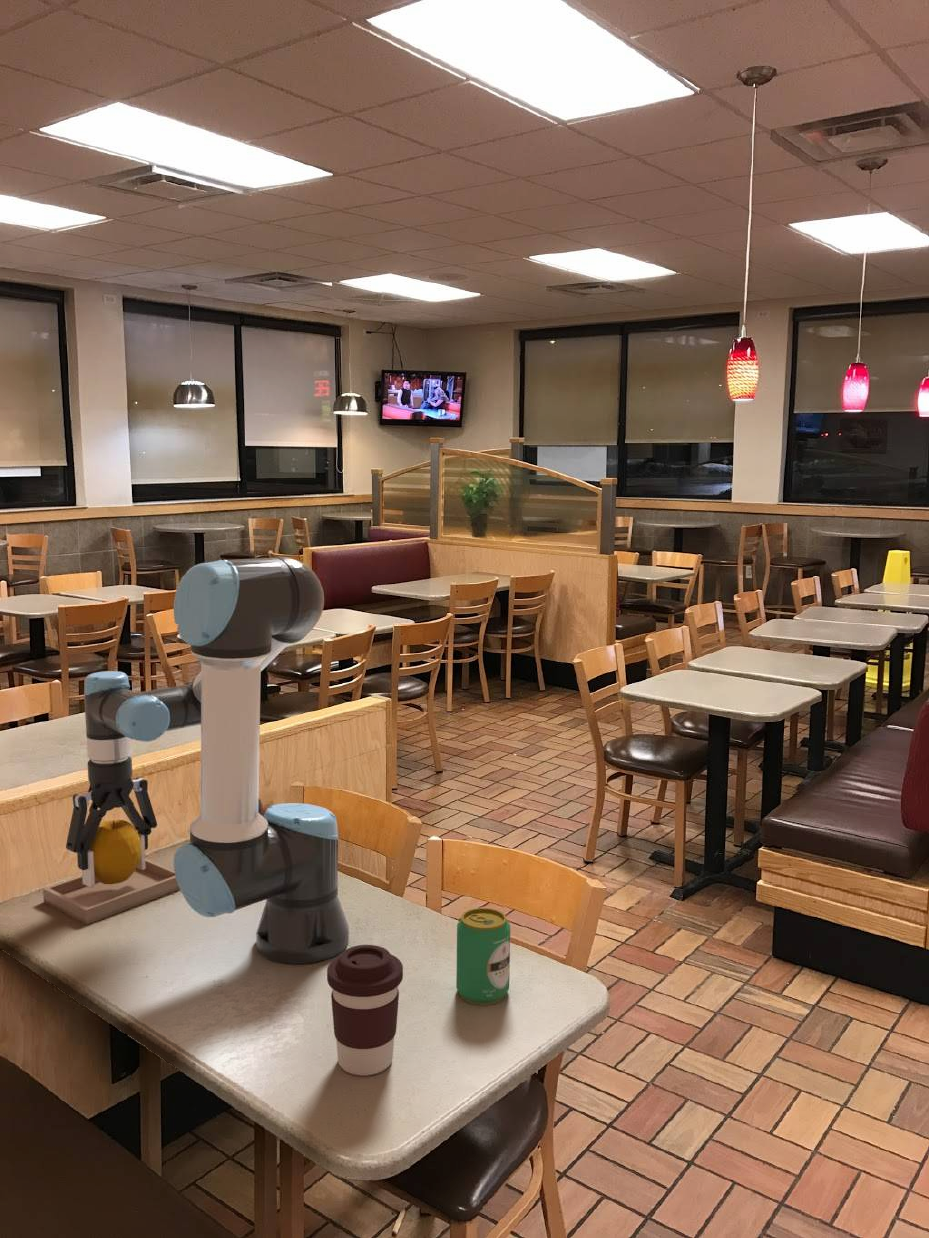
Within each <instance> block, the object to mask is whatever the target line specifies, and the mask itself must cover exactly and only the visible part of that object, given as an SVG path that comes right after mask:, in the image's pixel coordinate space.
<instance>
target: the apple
mask: <svg viewBox="0 0 929 1238" xmlns="http://www.w3.org/2000/svg"><path fill="white" fill-rule="evenodd" d="M89 850H91V851H93V856H94V875H95V876H96V878H97V879H98V880H99V881H100V882H101V883H103V884H116V883H121V882H124V881H126V880H128V879H129V877H130V876H131V875H132V874H133V873H134V871H135V870H136V868H137V866H138V864H139V862H140V858H141V853H142V847H141V840H140V837H139V835H138V831H137V830H136V829H135V827H134V826H133V824H132V823H131V822H129V821H127V820H124V819H115V820H114V819H113V820H107V821H103V822H100V825H99V827H98V830H97V832H96V834H95V837H94V839H93V842H92V844H91V846H90V849H89Z"/></svg>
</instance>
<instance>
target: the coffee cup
mask: <svg viewBox="0 0 929 1238" xmlns="http://www.w3.org/2000/svg"><path fill="white" fill-rule="evenodd" d="M339 954H340V955H339V956H337V957H335V958H334V959H333V960H331V961H330V962H329V964H328V966H327V970H326V979H327V984H328V986H329V987H330V988H331V989H332V990H331V996H330V997H331V1008H332V1009H331V1010H332V1020H333V1021H332V1023H333V1035H334V1037H335V1041H336V1051H337V1052H336V1053H337V1062H338V1065H339V1067H340V1068H341V1069H342V1070H344V1071H345V1072H346V1073H348V1074H351V1075H355V1076H361V1077H363V1076H364V1077H365V1076H372V1075H376V1074H380V1073H382V1072H383V1071H384V1070H386V1069H388V1068H389V1067H390V1066H391V1063H392V1061H393V1057H394V1045H395V1044H394V1043H395V1036H396V1033H397V1028H398V1027H397V1025H398V1024H397V1023H398V1011H399V1001H400V1000H399V999H400V998H399V996H400V991H399V986H400V984H401V983H402V982H403V977H404V971H403V970H404V965H403V963H402V962H401V959H399V958H398V957H396V956H395V955H393V954H391V952H390V951H389V950H387V949H386V948H384V947H381V946H380V945H376V944H375V945H374V944H359V945H358V944H357V945H354V946H351V947H348V948H345V949H344V950H343V951H342V952H340V953H339Z"/></svg>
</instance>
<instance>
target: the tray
mask: <svg viewBox="0 0 929 1238" xmlns="http://www.w3.org/2000/svg"><path fill="white" fill-rule="evenodd" d="M145 865H146V869H144V870H141V869H139V868H136V870H135V871H134V873H133V874H132V875H131V876H130V877H129V879H128V880H126V881H124V882H121V883H116V884H103V883H101V882H100V881H99V880H98V879H97V878H96V876H95V875H94V878H95V887H92V888H90V887H88V886H86V885H84V884H83V880H82V874H81V875H79V876H76V877H73V878H69V879H67V880H64V881H61V882H58V883H55V884H52V885H48V886H47V887H43V888H42V895H43V898H42V899H43V903H45V904H46V905H48V906H50V907H52V908H53V909H56V910H57V911H60V912H62V913H64V914H66V915H67V916H69V917H72V918H73V919H75V920H77V921H79V922H80V923H83V924H84V925H89V924H92V923H94V922H97V921H101V920H102V919H105V918H108V917H111V916H114V915H116V914H119V913H121V912H123V911H127V910H129V909H132V908H134V907H137V906H141V905H143V904H146V903H148V902H150V901H153V900H155V899H156V900H157V899H158V898H161V897H163V896H166V895H169V894H171V893H174V892H177V891H181V890H180V888H179V886H178V883H177V880H176V876H175V871H174V869H172V868H170V867H167V866H165V865H163V864H161V863H158V862H155V861H153V860H150V859H149V858H146V857H145Z"/></svg>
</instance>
